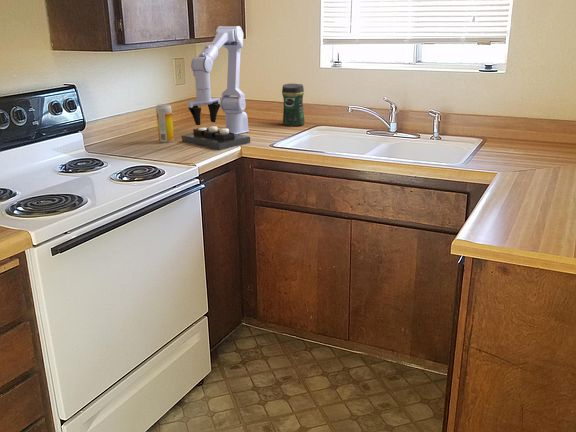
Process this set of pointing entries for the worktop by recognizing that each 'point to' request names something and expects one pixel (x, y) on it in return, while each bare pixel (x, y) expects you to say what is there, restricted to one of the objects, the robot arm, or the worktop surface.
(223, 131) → the button
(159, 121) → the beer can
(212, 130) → the button
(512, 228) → the worktop surface
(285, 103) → the coffee jar
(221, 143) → the push button control box
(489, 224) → the worktop surface
